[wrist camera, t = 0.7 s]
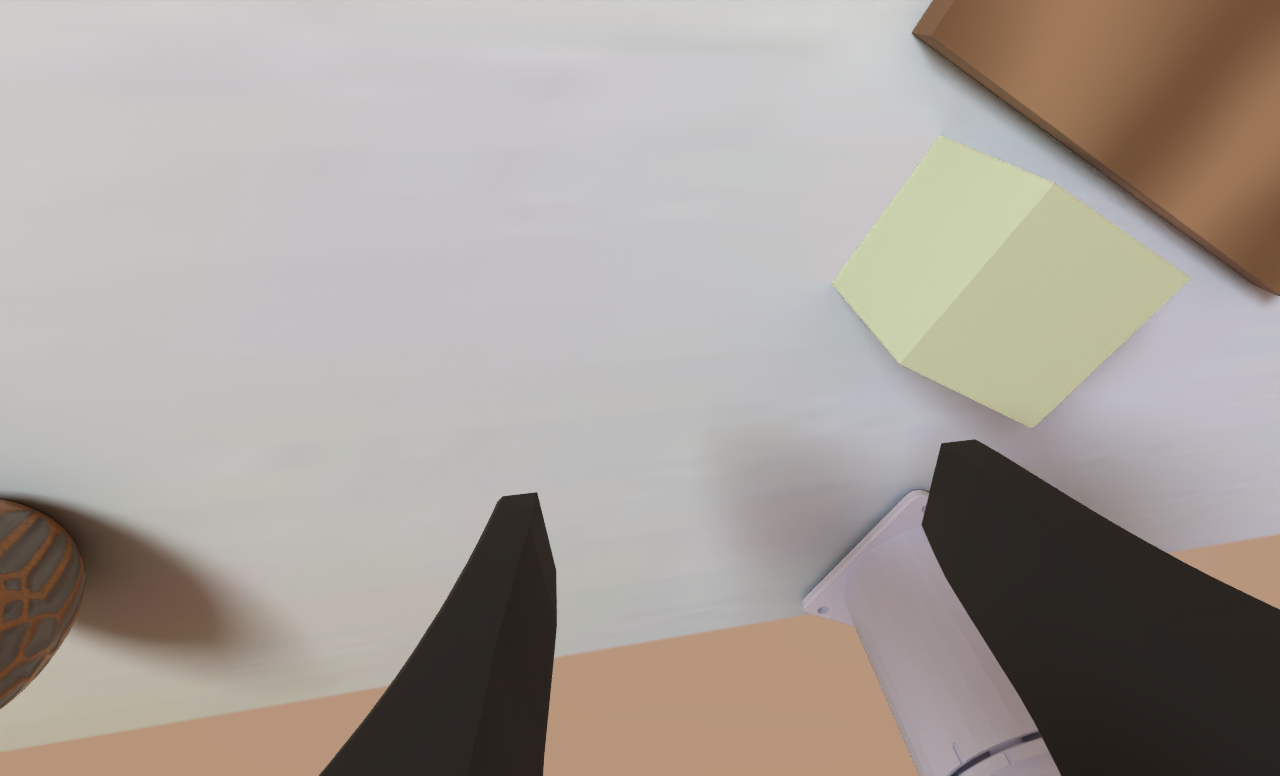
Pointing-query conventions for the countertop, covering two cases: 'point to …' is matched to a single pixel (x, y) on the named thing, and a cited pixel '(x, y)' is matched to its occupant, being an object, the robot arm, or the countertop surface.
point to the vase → (34, 593)
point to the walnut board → (1146, 102)
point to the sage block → (1000, 282)
